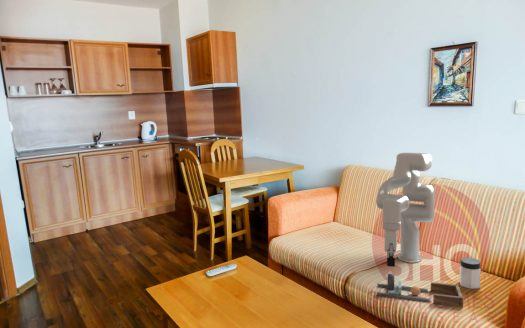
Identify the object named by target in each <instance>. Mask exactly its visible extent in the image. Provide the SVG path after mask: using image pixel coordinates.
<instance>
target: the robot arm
mask: <svg viewBox="0 0 525 328" xmlns="http://www.w3.org/2000/svg"><path fill="white" fill-rule="evenodd" d="M432 164H433V157H432V155H431V154H430V153H425V152H423V153H421V152H400V153H398V154H397V155H396V161H395V166H394V170H393V172H392V173H393V174H392V176H391V177H389V178H388V179H386V180H385V181H384V182H382V183H381V185H380V187H379V189H378V192H377V196H376V206H377V208H378V209H380V210H382V229H383V230H384V252H387V253H386V254H387V255H386V258H387V259H386V266H387V267H393V268H394V267H396V257H395V256H396V255H395V253H396V252H397V245H398V231H400V252H399V253H398V254H397V259H398V260H399V261H401V262H405V263H409V264H411V263H412V264H413V263H415V264H416V263H420V262H422V260H423V258H422V255H420V227H419V225H418V224H417V222H419V223H432V222H433V221H434V218H435V199H436V196H435V194H436V193H435V189H434V187H433V186H432V185H431V184H426V183H425V184H423V183H421V179H420V178H421V176H420V172H427V171H428V170H430V169H431V167H432ZM398 188H402V194H396V193H395V194H393V193H388V192H390V191H393V190H396V189H398ZM413 202H416V203H413ZM417 202H418V203H417Z"/></svg>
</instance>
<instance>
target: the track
mask: <svg viewBox="0 0 525 328" xmlns="http://www.w3.org/2000/svg"><path fill="white" fill-rule="evenodd" d="M376 285H377V287H378V288H387V284H386V283H377V284H376ZM394 286H398V284H394ZM412 287H413V286H405V285H401V290H404V291H405V290H406V291H411V288H412ZM418 288H419V289H420V293H421V292H422V293H428V292H429V289H428V288H424V287H423V288H422V287H418ZM376 296H378V297H386V298H395V299H400V300H401V299H403V300H410V301H411V300H412V301H418V302H427V303H429V302H431V299H430V297H424V296H423V297H422V296H416V295H413V296H412V295H405V294H401V295H398V294H389V293H388V292H378V291H376Z"/></svg>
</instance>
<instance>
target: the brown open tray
mask: <svg viewBox="0 0 525 328" xmlns="http://www.w3.org/2000/svg"><path fill="white" fill-rule="evenodd" d="M430 292H431V293H433V292H434V293H433V299H432V300H433V302H432V303H433V305H442V306H450V307H457V306H462V307H461V308H463V306H464V296H463V294H462V291H461V289H460V286H459V285H458V284H454V283H452V284H451V283H442V282H441V283H440V282H432V281H431V282H430ZM439 293H440V294H439ZM448 294H450V295H448ZM451 294H452V295H451Z"/></svg>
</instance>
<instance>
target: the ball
mask: <svg viewBox="0 0 525 328" xmlns="http://www.w3.org/2000/svg"><path fill="white" fill-rule="evenodd" d="M411 287H412V288H411V290H410V293H411V294H412V295H413V296H419V295H420V293H421V291H420V289H419V288H420V287H418V286H417V285H413V286H411Z"/></svg>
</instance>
